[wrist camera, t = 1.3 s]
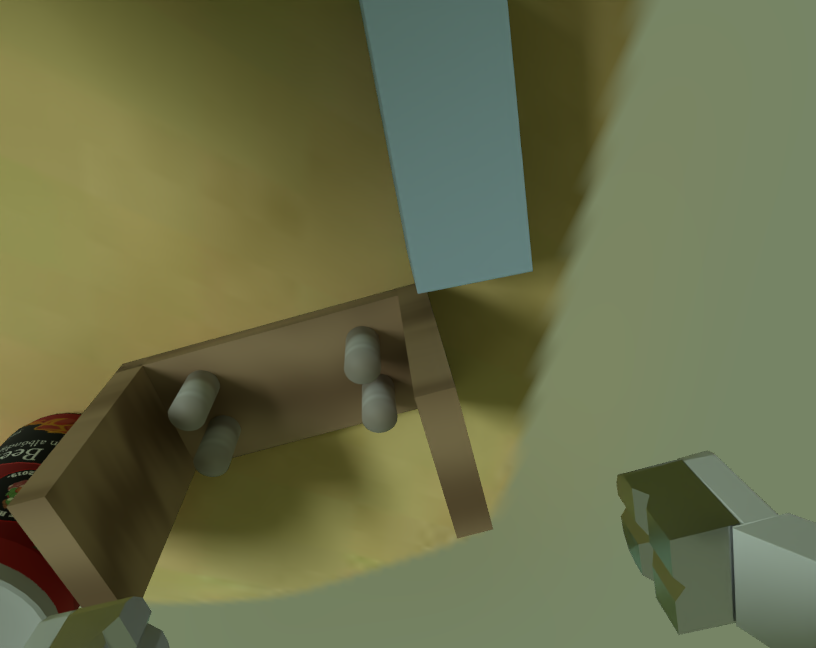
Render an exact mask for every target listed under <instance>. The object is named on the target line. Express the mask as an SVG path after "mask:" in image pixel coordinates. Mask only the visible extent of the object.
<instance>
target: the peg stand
mask: <svg viewBox="0 0 816 648" xmlns="http://www.w3.org/2000/svg"><path fill="white" fill-rule="evenodd" d="M414 409H418V411H419V414H420V417H421V421H422V424H423V427H424V431H425V434H426V437H427V440H428V444H429V447H430V450H431V453H432V457H433V460H434V463H435V467H436V470H437V473H438V476H439V480H440V483H441V486H442V490H443V493H444V496H445V499H446V503H447V506H448V509H449V513H450V516H451V519H452V522H453V526H454V529H455V532H456V535H457V538H461V537H465V536H468V535H472V534H476V533H480V532H484V531H488V530H492V529H493V527H492V523H491V520H490V516H489V512H488V508H487V504H486V501H485V497H484V493H483V489H482V486H481V482H480V478H479V474H478V471H477V467H476V463H475V459H474V455H473V452H472V448H471V444H470V440H469V437H468V433H467V429H466V425H465V421H464V418H463V414H462V410H461V406H460V403H459V399H458V395H457V391H456V388H455V384H454V381H453V377H452V374H451V371H450V367H449V364H448V361H447V357H446V354H445V351H444V347H443V344H442V341H441V337H440V334H439V331H438V327H437V324H436V321H435V317H434V314H433V311H432V307H431V304H430V300H429V297H428V294H427V292H425V293H420V294H418V293H417V289H416V285H415V284H412V285H408V286H405V287H401V288H397V289H394V290H390V291H386V292H383V293H379V294H376V295H372V296H368V297H365V298H361V299H357V300H354V301H350V302H346V303H343V304H339V305H336V306H332V307H328V308H325V309H321V310H317V311H314V312H310V313H307V314H303V315H299V316H296V317H292V318H288V319H285V320H281V321H277V322H274V323H270V324H267V325H263V326H259V327H256V328H252V329H248V330H245V331H241V332H238V333H234V334H230V335H227V336H223V337H219V338H216V339H212V340H208V341H205V342H201V343H198V344H194V345H190V346H187V347H183V348H179V349H176V350H172V351H168V352H165V353H161V354H158V355H154V356H150V357H147V358H143V359H139V360H136V361H132V362H129V363H125V364H122V366H121V367H120V368H119V369H118V371H117V372H116V373H115V374H114V375H113V377H112V378H111V379H110V380H109V382H108V383H107V384H106V385H105V387H104V388H103V389H102V390H101V391H100V393H99V394H98V395H97V396H96V398H95V399H94V400H93V401H92V402H91V404H90V405H89V406H88V407H87V409H86V410H85V411H84V412H83V413H82V415H81V416H80V417H79V418H78V420H77V421H76V422H75V423H74V425H73V426H72V427H71V428H70V429H69V431H68V432H67V433H66V434H65V436H64V437H63V438H62V439H61V440H60V442H59V443H58V444H57V445H56V447H55V448H54V449H53V450H52V451H51V453H50V454H49V455H48V456H47V458H46V459H45V460H44V461H43V463H42V464H41V465H40V466H39V467H38V469H37V470H36V471H35V472H34V474H33V475H32V476H31V477H30V478H29V480H28V481H27V482H26V483H25V485H24V486H23V487H22V488H21V489H20V491H19V492H18V493H17V494H16V496H15V497H14V498H13V499H12V501H11V502H10V503H9V504H8V505H7V509H8V510H9V511H10V513H11V514H12V515H13V517H14V518H15V519H16V521H17V522H18V523H19V525H20V526H21V527H22V529H23V530H24V531H25V533H26V534H27V535H28V537H29V538H30V539H31V541H32V542H33V543H34V545H35V546H36V547H37V549H38V550H39V551H40V553H41V554H42V555H43V557H44V558H45V559H46V561H47V562H48V563H49V565H50V566H51V567H52V569H53V570H54V571H55V573H56V574H57V575H58V577H59V578H60V579H61V581H62V582H63V583H64V585H65V586H66V587H67V589H68V590H69V591H70V593H71V594H72V595H73V597H74V598H75V599H76V601H77V602H78V603H79V605H80V606H81V607H82V608H84V607H88V606H92V605H97V604H101V603H106V602H110V601H115V600H119V599H124V598H128V597H132V596H135V597H142V598H143V596H144V593H145V591H146V589H147V586H148V584H149V581H150V579H151V577H152V574H153V572H154V569H155V567H156V564H157V562H158V560H159V557H160V555H161V552H162V550H163V548H164V545H165V543H166V540H167V538H168V536H169V533H170V531H171V528H172V526H173V524H174V521H175V519H176V516H177V514H178V512H179V509H180V507H181V504H182V502H183V500H184V497H185V495H186V492H187V490H188V487H189V485H190V483H191V480H192V478H193V475H194V473H195V471H196V470H197V471H198V472H200V473H201V474H203V475H205V476H209V477H216V476H220V475H222V474H224V473H225V472H226V471H227V470H228V468H229V465H230V462H231V459H232V458H234V457H237V456H241V455H245V454H249V453H252V452H256V451H260V450H264V449H267V448H271V447H275V446H279V445H282V444H286V443H290V442H294V441H298V440H301V439H305V438H309V437H313V436H316V435H320V434H324V433H328V432H331V431H335V430H339V429H343V428H346V427H350V426H354V425H358V424H361V423H363V424H364V426H365V427H366V428H367V429H368V430H370V431H372V432H377V433H381V432H386V431H388V430H390V429H391V428H393V427H394V425H395V424H396V422H397V414H399V413H403V412H406V411H410V410H414Z"/></svg>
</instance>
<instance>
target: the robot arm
mask: <svg viewBox="0 0 816 648" xmlns="http://www.w3.org/2000/svg"><path fill="white" fill-rule="evenodd" d="M617 490H618V495H619V497H620V499H621V500H622V502H623V503H624V505H625V506H626V509H625V510H624V512H623V514H622V516H621V520H622V526H623V531H624V535H625V538H626V542H627V545H628V548H629V551H630V553H631V555H632V557H633V559H634V561H635V563H636V565H637V566H638V568H639V570H640V572H641V573H642V575H643V576H645V577H647V578H649V579H651V580H653V581H654V584H655V592H656V598H657V600H658V602H659V603H660V605H661V607H662V608H663V610H664V612H665V613H666V614H667V616H668V618H669V620H670V621H671V623H672V624H673V626H674V628H675V629H676V631H677V633H678V634H679V635H680V634H685V633H689V632H694V631H699V630H703V629H708V628H712V627H718V626H722V625H727V624H731V623H736V625H737V626H738V627H739V628H741V629H742V630H744V631H745V632H747V633H748V634H750V635H752V636H753V637H755V638H756V639H758V640H759V641H761V642H762V643H764V644H765V645H767V646H768V647H770V648H816V523H815V522H813V521H810V520H807V519H804V518H801V517H799V516H796V515H793V514H790V513H787V514H782V515H778V514H777V513H776V512H775V511H774V510H773V509H772V508H771V507H770V506H769V505H768V504H767V503H765V501H763V499H761V498H760V497H759V496H758V495H757V494H756V493H755V492H754V491H753V490H752V489H751V488H750V487H749V486H748V485H747V484H746V483H745V482H744V481H743V480H742V479H740V478H739V477H738V476H737V475H736V474H735V473H734V472H733V471H732V470H731V469H730V468H729V467H728V466H727V465H726V464H725V463H724V462H723V461H722V460H721V459H720V458H718V457H717V456H716V455H715V454H714V453H712V452H710V451H704V452H700V453H697V454H693V455H689V456H686V457H682V458H679V459H677V460H674V461H670V462H666V463H662V464H658V465H654V466H650V467H647V468H642V469H638V470H635V471H631V472H627V473H623V474H619V475H618V476H617ZM150 615H151V610H150V609H149V607H148V605H147V604H146V602H145V601H144V599H143V598H142V597H135V596H132V597H128V598H124V599H119V600H115V601H110V602H106V603H101V604H97V605H92V606H88V607H84V608H79V609H77V610H73V611H68V612H64V613H60V614H55V615H51V616H49V617H47V618H46V619H44V620H43V621H41V622H40V623H39V624H38V625H37V627H36V628H35V630H34V632H33V633H32V635H31V636H30V638H29V639H28V641H27V642H26V644H25V645H24V647H23V648H169V643H168V641H167V639H166V637H165V635H164V633H163V631H162V630H160V629H158V628H156V627H154V626H152V625H150V624H148V621H149V618H150Z"/></svg>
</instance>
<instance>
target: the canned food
mask: <svg viewBox="0 0 816 648" xmlns="http://www.w3.org/2000/svg"><path fill="white" fill-rule="evenodd" d="M80 416H81V415H80V414H67V413H65V414H55V415H50V416H47V417H43V418H40V419H38V420H36V421H34V422H32V423H30V424H28V425H26V426H24V427H22V428H20V429H18V430H17V431H16V432H15V433H14V434H12V435H11V436H10V437H9V438H8V439H7V440H6V441H5V442H4V443H3V444H2V445H1V446H0V648H23V647H24V645H25V644H26V642H27V641H28V639H29V638H30V636H31V635H32V633H33V632H34V630H35V628H36V627H37V625H38V624H39V623H40V622H41V621H43V620H44V619H46V618H47V617H49V616H51V615H55V614H60V613H64V612H68V611H73V610H77V609H78V608H79V606H80V605H79V603H78V602H77V601H76V599H75V598H74V597H73V595H72V594H71V593H70V591H69V590H68V589H67V587H66V586H65V585H64V583H63V582H62V581H61V579H60V578H59V577H58V575H57V574H56V573H55V571H54V570H53V569H52V567H51V566H50V565H49V563H48V562H47V561H46V559H45V558H44V557H43V555H42V554H41V553H40V551H39V550H38V549H37V547H36V546H35V545H34V543H33V542H32V541H31V539H30V538H29V537H28V535H27V534H26V533H25V531H24V530H23V529H22V527H21V526H20V525H19V523H18V522H17V521H16V519H15V518H14V517H13V515H12V514H11V513H10V511H9V510H8V509H7V505H8V504H9V503H10V502H11V501H12V499H13V498H14V497H15V496H16V494H17V493H18V492H19V491H20V489H21V488H22V487H23V486H24V485H25V483H26V482H27V481H28V480H29V478H30V477H31V476H32V475H33V474H34V472H35V471H36V470H37V469H38V467H39V466H40V465H41V464H42V463H43V461H44V460H45V459H46V458H47V456H48V455H49V454H50V453H51V451H52V450H53V449H54V448H55V447H56V445H57V444H58V443H59V442H60V440H61V439H62V438H63V437H64V436H65V434H66V433H67V432H68V431H69V429H70V428H71V427H72V426H73V425H74V423H75V422H76V421H77V420H78V418H79V417H80Z"/></svg>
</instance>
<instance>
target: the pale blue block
mask: <svg viewBox="0 0 816 648" xmlns="http://www.w3.org/2000/svg"><path fill="white" fill-rule="evenodd" d="M359 3H360V8H361V14H362V19H363V24H364V29H365V34H366V40H367V45H368V50H369V55H370V60H371V66H372V71H373V76H374V81H375V87H376V92H377V97H378V102H379V107H380V113H381V118H382V123H383V128H384V133H385V139H386V144H387V149H388V154H389V159H390V165H391V170H392V175H393V180H394V186H395V191H396V196H397V201H398V206H399V212H400V217H401V222H402V227H403V232H404V238H405V243H406V248H407V253H408V257H409V261H410V265H411V269H412V273H413V277H414V281H415V285H416V289H417V293H418V294H420V293H425V292H430V291H435V290H440V289H446V288H451V287H456V286H461V285H466V284H471V283H476V282H481V281H486V280H491V279H496V278H501V277H506V276H511V275H516V274H521V273H526V272H531V271H533V268H532V257H531V247H530V236H529V225H528V215H527V204H526V193H525V183H524V172H523V161H522V151H521V140H520V129H519V119H518V108H517V97H516V87H515V76H514V66H513V55H512V44H511V34H510V23H509V12H508V2H507V0H359Z"/></svg>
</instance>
